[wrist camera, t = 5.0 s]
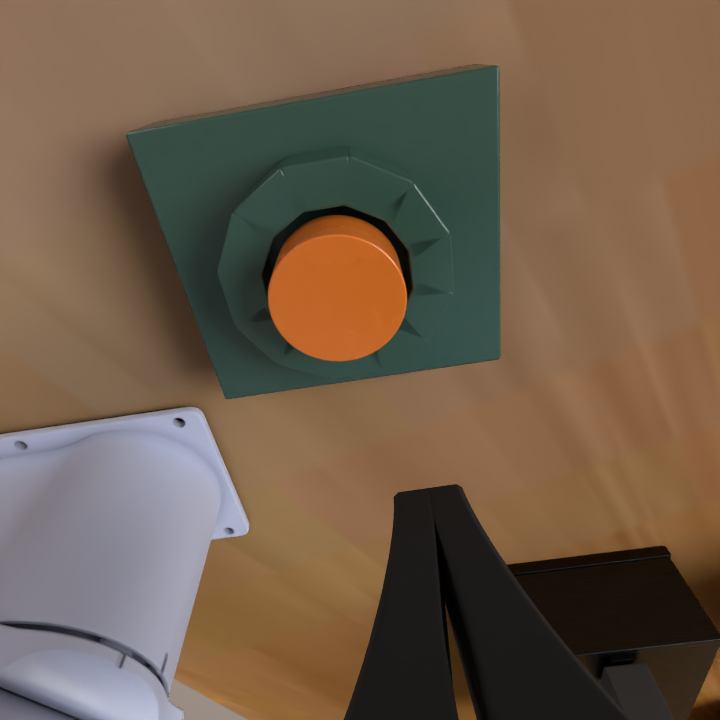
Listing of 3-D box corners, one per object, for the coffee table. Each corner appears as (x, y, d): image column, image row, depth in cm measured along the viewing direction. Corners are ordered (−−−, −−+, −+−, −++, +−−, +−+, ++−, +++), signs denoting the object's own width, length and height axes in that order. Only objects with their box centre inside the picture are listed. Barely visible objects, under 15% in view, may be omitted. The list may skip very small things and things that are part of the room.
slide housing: (498, 688, 35) (520, 778, 30) (497, 566, 27) (526, 662, 23) (630, 674, 34) (671, 763, 30) (665, 545, 27) (727, 640, 22)
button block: (237, 365, 20) (215, 429, 16) (153, 122, 15) (97, 142, 12) (484, 327, 19) (514, 386, 16) (478, 63, 14) (519, 65, 11)
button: (291, 339, 15) (285, 370, 14) (260, 226, 13) (250, 247, 12) (406, 322, 15) (413, 351, 13) (392, 204, 13) (398, 223, 12)
